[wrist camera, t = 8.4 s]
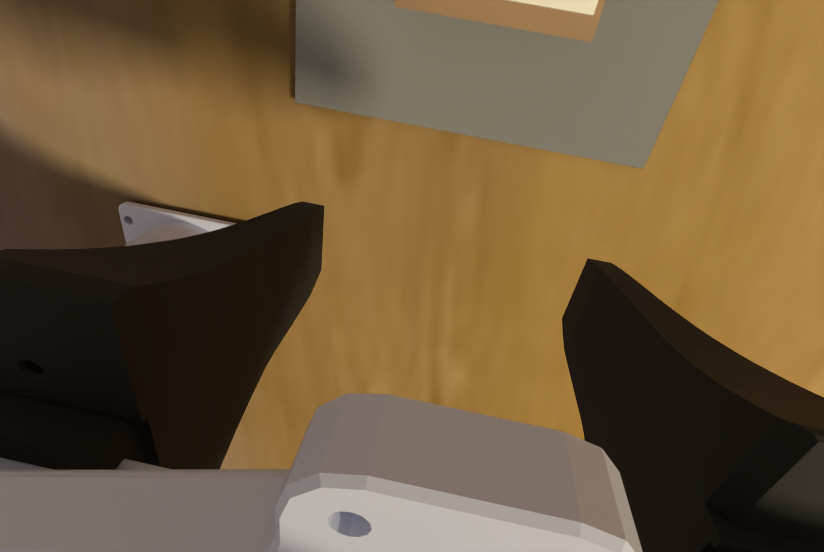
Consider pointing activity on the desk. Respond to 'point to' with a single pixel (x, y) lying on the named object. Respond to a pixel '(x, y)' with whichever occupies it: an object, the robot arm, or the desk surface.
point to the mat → (504, 73)
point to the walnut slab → (514, 15)
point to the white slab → (564, 5)
